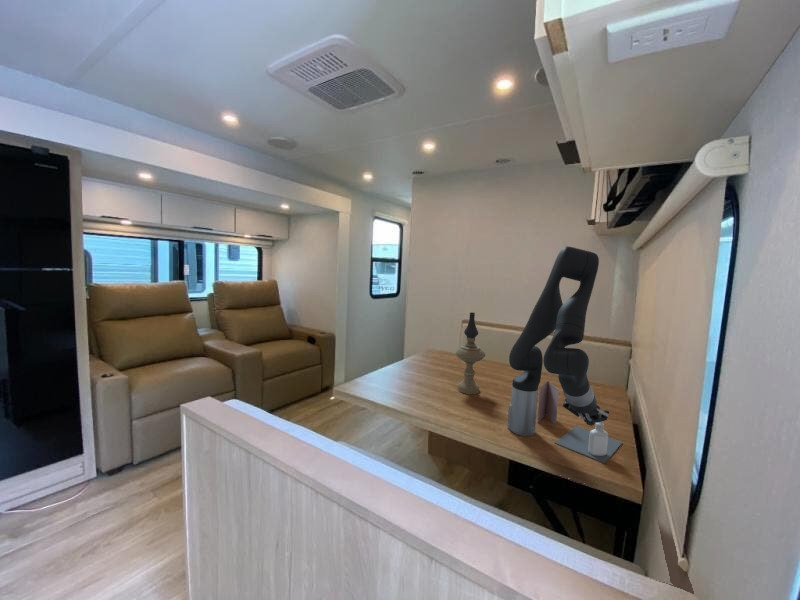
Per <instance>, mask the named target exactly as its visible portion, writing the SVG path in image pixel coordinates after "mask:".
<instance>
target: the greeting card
mask: <svg viewBox="0 0 800 600" xmlns="http://www.w3.org/2000/svg"><path fill="white" fill-rule="evenodd" d="M559 395H560V394H559V389H558V388H557V387H556V386H555V385H553V384H552V382H550V380H547V381H546V382H545V383H543V384H542V385H541V386H540V387H539V394H538V407H537V408H538V409H537V424H538V423H539V422H540V421H541V420H542V419H543V418H544V417H545V415H546V417H547V418H548V419H549V420H550V421H551V423H553V425H554V426H555V427H557V421H558V420H557V417H558V405H559Z"/></svg>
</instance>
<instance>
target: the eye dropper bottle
mask: <svg viewBox="0 0 800 600" xmlns="http://www.w3.org/2000/svg"><path fill="white" fill-rule="evenodd" d="M594 426H595V428H594V429H591V430H589V431H590V435H589V445H588V452H589V453H590V454H591V455H595V456H604V455H606V454H607V446H608V437H609V433H608V431H606V430H605V424H604V423H603V421H602V422H598V423H596V422H595V425H594Z"/></svg>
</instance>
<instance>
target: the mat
mask: <svg viewBox="0 0 800 600" xmlns="http://www.w3.org/2000/svg"><path fill="white" fill-rule="evenodd" d="M590 431H591V430H589V429H586V428H583V427H580V426H578V425H575V426H573V428H571V429H570V430H569V431H567V432H566V433H565V434H564V435H563V436H561V437H560V438H558V440H555V442H554V444H556V445H557V446H559V447H563V448H565V449H568V450H570V451H572V452H575V453H577V454H580V455H582V456H585V457H587V458H590V459H593V460H595V461H597V462H599V463H602V464H606V463H607V462H608V461H609V460H610V459H611V457H612V456H613V455H614V454H615V452H616V451H618V449H619V448H620V447H621V445H622V444H623V441H621V440H618V439H615V438H612V437H610V436H608V446H607V454H606V455H604V456H595V455H591V454H590V453H589V452H588V445H589V435H590ZM619 446H620V447H619ZM618 447H619V448H618Z"/></svg>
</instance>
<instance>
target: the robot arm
mask: <svg viewBox="0 0 800 600" xmlns="http://www.w3.org/2000/svg"><path fill="white" fill-rule="evenodd" d="M599 263H600V258H599V255H598V254H597V253H595V252H592V251H589V250H586V249H581V248H576V247H575V246H574V247H572V246H568V245H567V246H566V245H565V246H564V247H562V248H561V249H560V251H559V253H558V254H557V256H556V258H555V261H554V263H553V266H552V268H551V271H550V273H549V276H548V278H547V280H546V283H545V285H544V288H543V290H542V292H541V294H540V296H539V298H538V300H537V302H536V304H535V305H534V307H533V309H532V311H531V314H530V316H529V318H528V320H527V323H526V324H525V326H524V327H523V330H522V332H521V333H520V335H519V337H518V339H516V342H515V343H513V346H512V347H511V350H510V352H509V356H508V357H509V359H508V362H509V365H510V367H511V368H512V369H513V370H514V371H520V372H521V371H522V372H521V374H519V375H516V376H515V377H513V379H512V386H511V400H510V402H511V403H509V404H508V414H507V429H509V430H510V431H511V433H514V434H516V435H519V436H524V437H530V436H534V435H535V433H536V421H537V411H538V409H537V408H538V407H537V406H538V396H539V394H538V392H539V385H540V383H541V379H542V371H543V367H544V368H545V370H546V371H547V372H548V373H550V374H554V375H557V376H558V377H557V378H558V381H559V384H560V387H561V388H562V393H563V396H564V398H565V399H564V401H563V404H562V407H563V408H564V409H566V410H567V411H569V412H570V413H571V414H573V415H575V416H576V417H578V418H579V417H581V419H583V421H584V423H586V425H587V426H590V427H593V426H595V425H596V423H598V422H602V423H603V422H604V421H607V420H608V417H609V416H610V415H609V414H610V411H609V410H602V409H601V407H600V406H599V405H598V402H597V399H596V394H595V392H594V389H593V387H592V385H591V383H590V380H589V379H588V375H587V373H588V370H589V365H590V364H589V363H590V360H589V356H588V354H587V352H585V351H584V350H583V349H580V348H576V347H575V348H574V347H567V346H571V345H572V346H573V345H575V344H579V343H582V341H583V340H584V337H585V327H586V319H587V317H586V316H587V312H588V307H589V302H590V299H591V296H592V292H593V288H594V285H595V282H596V279H597V274H598V270H599V266H600V265H599ZM562 278H565V279H569V280H573V281H576V282H579V286H578V289H577V290H576V291H575V292H574V293H573V295H571V296H570V297H569V298H568V299H567V300H566V301H565V302H563V299H562V295H561V290H560V283H561V281H562ZM552 333H554V334H553V336H552V338H551V340H550V342H549V344H548V346H547V347H546V350H545V352H544V355H543V352H542V350H541V348H539V347H538V346H536V345H538V344H539V343H541V342H542V341H543V340H545V339H546V338H548V337H549V336H550V335H552Z"/></svg>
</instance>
